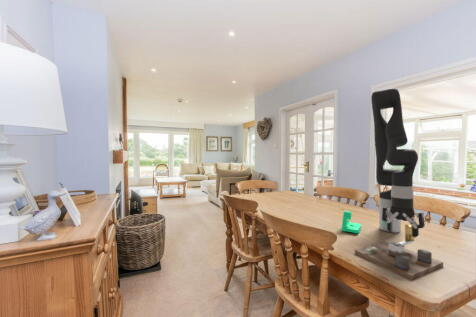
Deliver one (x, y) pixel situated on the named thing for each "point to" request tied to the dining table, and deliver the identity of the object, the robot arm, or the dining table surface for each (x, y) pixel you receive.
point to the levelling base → (391, 261)
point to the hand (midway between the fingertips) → (402, 234)
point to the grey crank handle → (399, 247)
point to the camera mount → (349, 223)
